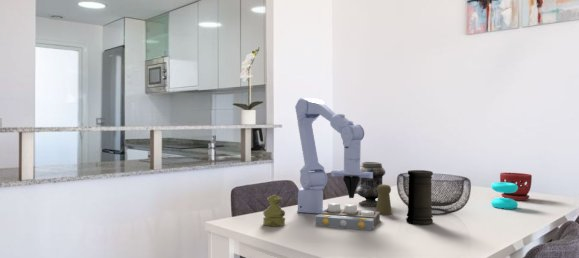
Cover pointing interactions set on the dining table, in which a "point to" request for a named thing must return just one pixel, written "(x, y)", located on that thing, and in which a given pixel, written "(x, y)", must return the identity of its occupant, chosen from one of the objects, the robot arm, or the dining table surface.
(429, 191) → the container
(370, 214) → the right button
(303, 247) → the dining table surface
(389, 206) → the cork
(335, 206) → the left button
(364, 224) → the pattern card
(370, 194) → the apothecary jar
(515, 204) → the donuts
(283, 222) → the olive green tiered piece
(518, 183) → the plant pot
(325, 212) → the button board
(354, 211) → the middle button
